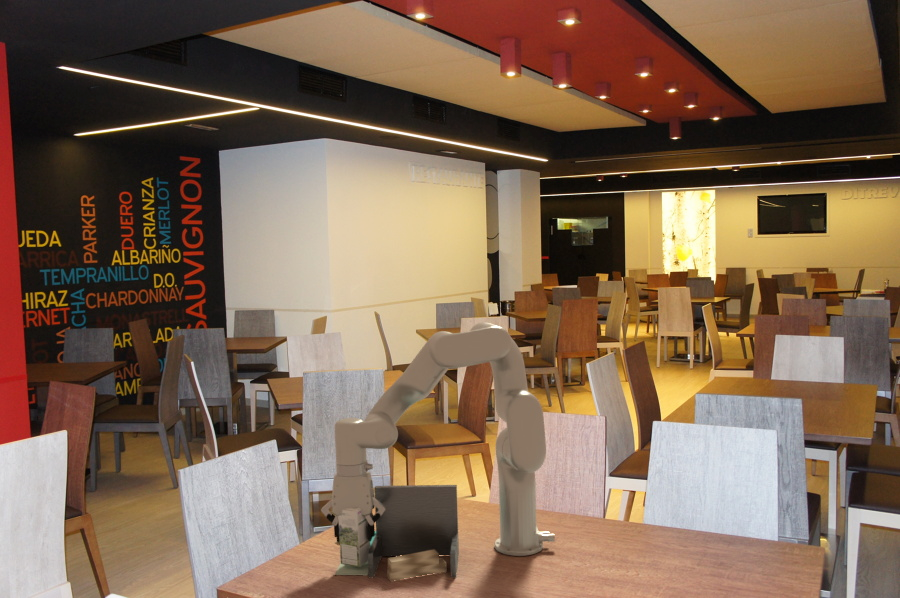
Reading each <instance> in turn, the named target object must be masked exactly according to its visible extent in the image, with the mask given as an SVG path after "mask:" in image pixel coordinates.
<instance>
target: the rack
mask: <svg viewBox="0 0 900 598" xmlns="http://www.w3.org/2000/svg"><path fill="white" fill-rule="evenodd" d="M457 487H458V486H457V484H429V485H428V484H427V485H425V484H423V485H421V484H420V485H419V484H418V485H412V484H411V485H410V484H409V485H375V486H374V498H375V499H377V500H378V501H379V502H381V503H382V504H383V505H385V506H386V510H385V511H384V512H383V514H382V515H381V516H380V518H379V519H378V520H377V521H376V522H375V531H376V535H375V538H374V540H373V542H372V545H371V547H370V549H369V552H368V578H369V577H373V578H372V579H374V578H375V576H376V573H377V570H378V568H379V565H380V562H381V560H380V559H382V557H381V556H400V555H407V554H413V553H418V552H423V551H429V550H434V549H435V550H436V551H437V552H438V553H439V555H450V556H449V557H450V578H451V577H456V578H457V574H456V573H457V572H458V563H459V557H458V556H459V555H460V551H459V550H460V546H459V517H458V516H459V515H458V513H459V512H458V510H459V509H458V488H457ZM374 509H375V514H376V513H377V512H378V510H379V509H378V508H377V507H374ZM378 564H379V565H378ZM377 567H378V568H377ZM375 572H376V573H375ZM374 575H375V576H374Z"/></svg>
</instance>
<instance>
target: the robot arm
mask: <svg viewBox="0 0 900 598" xmlns="http://www.w3.org/2000/svg"><path fill="white" fill-rule="evenodd" d="M486 363H489V364H490V368H491V372H492V377H493V379H492V380H493V386H494V389H493V390H494V400H495V411H496V414H497V416H498V417H499V418H500V419H501V420H502V421H504V422H505V423H506V427H505V428H503V429H502V430H501V432H499V434H498V436H497V437H496V441H495V457H496V463H497V472H498V500H499V501H498V502H499V503H498V504H499V505H498V506H499V509H498V510H499V538H497V539H496V540H495V541H494V548H495V550H496V551H497V552H499V553H500V554H503V555H507V556H513V557H525V556H531V555H532V556H533V555H535V554H537V553H539V552H541V551H542V550H543V549H544V544H543V543H544V542H548V543H549V542H550V543H551V542H552V543H554V542H556V541H555V540H556V539H555V534H554V533H550V531H540V530H539V529H538V526H537V497H536V495H537V494H536V493H537V492H536V489H537V487H536V484H537V482H536V473H535V472H537V471H538V470H539V469H541V468H542V467H543V465H544V463H545V460H546V455H547V444H546V443H547V441H546V430H545V420H544V412H543V411H544V410H543V407H542V404H541V402H540V401H539V399H538V398H537V396H535V395H534V394H533V393H531V392H530V391H529V388H528V381H527V374H526V365H525V361H524V357H523V354H522V351H521V350H520V348H519V346H518V345H517V343H516V341H515V340H514V339H513V338H512V337H511V335H510V332H508V330H506V328H504V327H502V326H499V325H496V324H493V323H490V322H486V321H485V322H478V323H476V324H474V325H473V326H472V327H471V328H470V330H469V331H462V332H456V333H454V332H450V331H444V330H441V331H437V332H434V334H432V335H431V336H430V337H429V339H428V340H427V341H426V342H425V344H424V345H423V346H422V348H421V349H420V351H419V352H418V353H417V355H415V357H414V358H413V360H412V361H411V362H410V363H409V364H408V366H407V368H406V369H405V370H404V371H403V373H402V374H400V375H401V376H399V377H398V378H397V379H396V380H395V381H394V382H393V383H392V385H391V386H390V387H388V388H387V390H386V391H385V392H384V393H383V394H382V395H381V396H380V398H379V399H378V400H377V401H376V402H375V404H374V406H373V407H372V408H371V410H370V411H369V412H368V413H367V415H366V417H365V418H364V420H363V419H361V418H359V417H358V418H357V417H347V418H342V419H339V420H338V421H336V422H335V423H334V442H335V443H334V444H335V445H334V446H335V449H334V450H335V468H336V471H335V472H336V473H334V475H333V482H332V491H331V492H332V494H331V499H330V500H329V501H327V503H326V504H325V505H323V506H322V508H321V509H320V512H321V513H322V514H323V515H324V517H326V519H327V520H328V521H329V522H330V523H331V524H332V525H331V526H333V529H334V531H333V532H334V533H333V534H334V538H336V542H337V543H340V542H339V541H340V539H339V519H338V516H339V515H341V513H342V510H344V509H350V508H360V509H361V515H362V516H365V518H366V519H367V521H368V525H367V535H368V541H371V540H372V537H374V535H375V531H376V528H375V524H376V521H377V520H378V519H379V518H380V516H381V515H382V514H383V512H384V511H385V510H386V506H385V505H383V504H382V503H381V502H379V501H378V500H377V499H375V488H374V483H373V478H372V477H373V476H372V474H371V472H370V470H373V468H374V465H373V463H369V462H368V460H367V459H368V458H367V449H372V450H385V449H389V448H391V447H393V446H394V445H395V444H396V442H397V440H398V437H399V432H398V428H397V426H396V424H397V422H398V421H399V420H400V419H401V418H402V416H403V415H404V414H405V413H406V411H407V410H408V409H409V408H410V407H412V406H413V405H414V404H416V403H418V402H420V401H423V400H424V399H426V398H428V396H429V395H430V394H431V393H432V392H433V391H434V389H435V387H436V386H437V385H438V383H439V382H441V379H442V378H443V377H444V375H445V374H446V373H447V371H448V370H449V369H458V368H459V369H460V368H465V367H470V366H476V365H480V364H486ZM375 507H377V508H378V509H379V510H378V512H377V513H375V514H373V510H374V509H375ZM331 508H332V509H331ZM330 509H331V510H330ZM331 511H332V512H331Z"/></svg>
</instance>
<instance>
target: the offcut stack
mask: <svg viewBox="0 0 900 598" xmlns="http://www.w3.org/2000/svg"><path fill="white" fill-rule="evenodd" d="M386 571H387V572H386V573H387V575H386V576H387V579H388V578H389V579H388V580H389V582H390V581H394V580H400V579H404V578H410V577H416V576H422V575H427V574H433V573H439V574H441V573H440V572H445V573H447V572H448V571H447V562H446V561H445V560H444V558H440V556H439V553H438V552H437V551H436V550H435V549H434V550H429V551H423V552H418V553H413V554H407V555H402V556H397V557H388V558H387V567H386ZM422 577H423V576H422ZM400 581H401V580H400ZM394 582H395V581H394Z"/></svg>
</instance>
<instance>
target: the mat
mask: <svg viewBox="0 0 900 598" xmlns="http://www.w3.org/2000/svg"><path fill="white" fill-rule="evenodd" d="M335 575H363V576H369V574H368V562H366V563H365V564H364V565H362V566H361V567H356V566H350V565H344V564H341V562H340V563H339V565H338V567H337V569H336V571H335V573H334V576H335Z"/></svg>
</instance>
